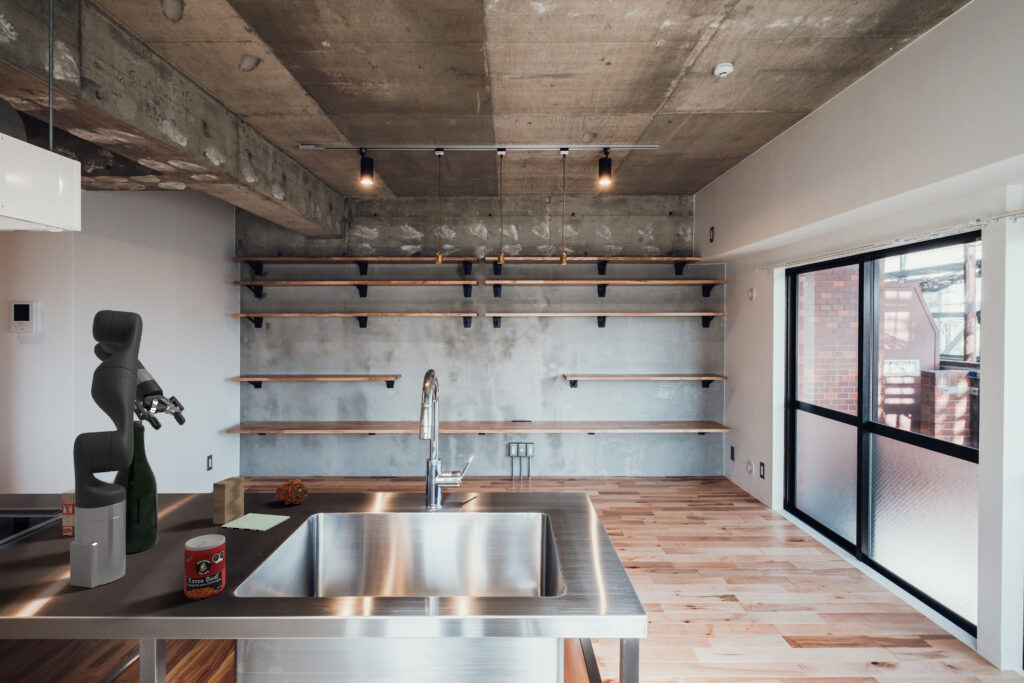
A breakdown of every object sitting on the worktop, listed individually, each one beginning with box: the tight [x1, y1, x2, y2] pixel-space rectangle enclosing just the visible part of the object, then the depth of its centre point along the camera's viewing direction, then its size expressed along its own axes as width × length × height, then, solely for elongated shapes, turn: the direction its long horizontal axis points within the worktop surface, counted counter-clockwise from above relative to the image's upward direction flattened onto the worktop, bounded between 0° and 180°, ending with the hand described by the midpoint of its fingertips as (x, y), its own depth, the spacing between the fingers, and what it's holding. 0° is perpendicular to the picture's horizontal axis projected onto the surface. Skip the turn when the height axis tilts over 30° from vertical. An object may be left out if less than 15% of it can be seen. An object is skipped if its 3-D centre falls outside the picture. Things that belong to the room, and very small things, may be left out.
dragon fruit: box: [275, 478, 311, 505], centre depth 182 cm, size 8×8×12 cm
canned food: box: [183, 533, 226, 600], centre depth 118 cm, size 8×8×11 cm
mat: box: [220, 512, 291, 532], centre depth 162 cm, size 12×14×1 cm
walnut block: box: [212, 476, 245, 526], centre depth 164 cm, size 8×4×12 cm, turn 168°
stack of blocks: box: [61, 480, 114, 537], centre depth 161 cm, size 21×6×12 cm, turn 1°
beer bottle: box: [112, 420, 159, 555], centre depth 142 cm, size 10×10×33 cm
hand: (171, 425), depth 169 cm, fingers open, 8 cm apart
